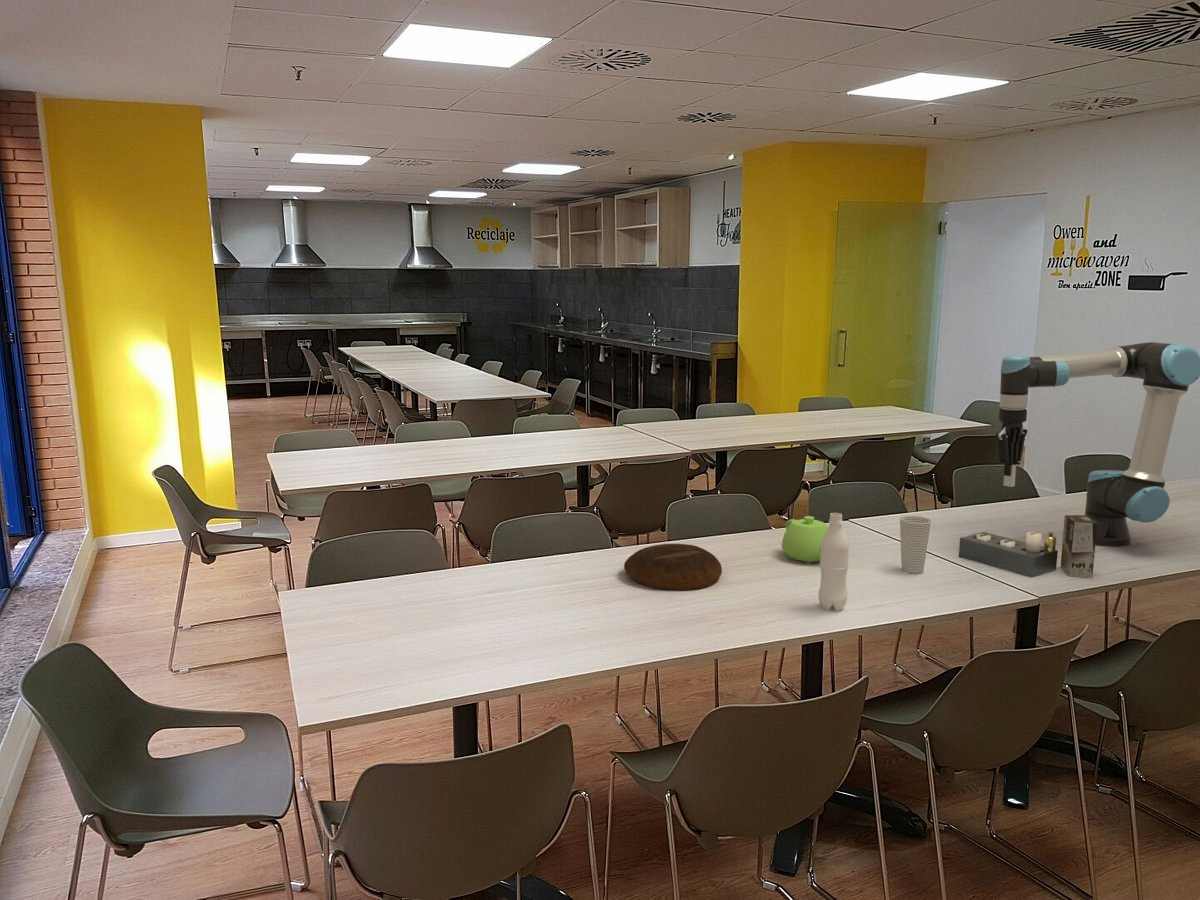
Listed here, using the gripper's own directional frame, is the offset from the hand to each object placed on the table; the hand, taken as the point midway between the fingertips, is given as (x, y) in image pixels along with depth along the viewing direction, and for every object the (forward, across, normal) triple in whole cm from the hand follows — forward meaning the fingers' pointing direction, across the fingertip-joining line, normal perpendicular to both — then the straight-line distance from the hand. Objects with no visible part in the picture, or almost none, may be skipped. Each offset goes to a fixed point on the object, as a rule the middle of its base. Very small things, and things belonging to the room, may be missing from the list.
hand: (1009, 485), depth 269 cm
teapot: (+21, +49, -34) cm, 63 cm away
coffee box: (+23, -4, +20) cm, 31 cm away
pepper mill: (+17, +1, +14) cm, 22 cm away
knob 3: (+18, +5, +11) cm, 22 cm away
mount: (+23, +5, +3) cm, 23 cm away
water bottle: (+21, +76, -2) cm, 79 cm away
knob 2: (+22, +5, +3) cm, 23 cm away
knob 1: (+22, +4, -5) cm, 23 cm away
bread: (+21, +93, -47) cm, 106 cm away
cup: (+22, +33, -9) cm, 41 cm away
